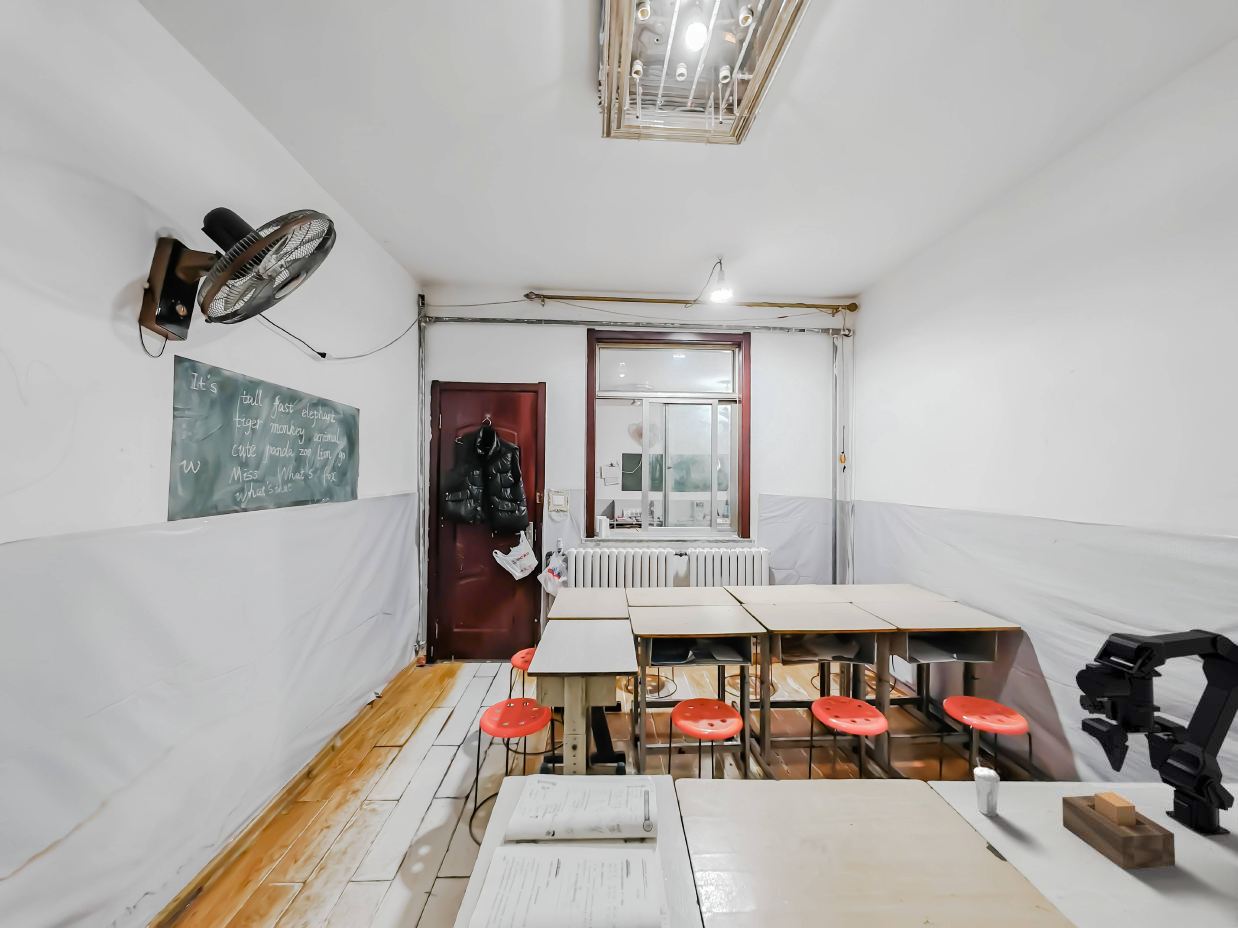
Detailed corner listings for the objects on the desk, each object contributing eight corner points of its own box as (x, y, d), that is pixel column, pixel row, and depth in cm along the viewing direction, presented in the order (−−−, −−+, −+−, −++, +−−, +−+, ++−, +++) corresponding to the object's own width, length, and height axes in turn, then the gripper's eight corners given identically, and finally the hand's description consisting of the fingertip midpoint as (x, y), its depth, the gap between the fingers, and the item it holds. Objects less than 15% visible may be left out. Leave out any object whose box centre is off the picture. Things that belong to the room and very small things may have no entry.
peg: (1113, 831, 96) (1112, 791, 96) (1136, 846, 92) (1135, 805, 92) (1095, 832, 96) (1094, 792, 96) (1117, 847, 92) (1116, 806, 92)
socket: (1110, 822, 100) (1109, 794, 100) (1175, 865, 89) (1174, 833, 89) (1063, 825, 99) (1062, 796, 99) (1122, 868, 88) (1121, 836, 88)
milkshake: (988, 802, 106) (987, 758, 106) (1005, 819, 101) (1004, 772, 101) (967, 801, 106) (966, 756, 107) (983, 817, 101) (982, 771, 101)
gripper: (1129, 678, 108) (1131, 746, 108) (1055, 680, 107) (1057, 749, 106) (1191, 701, 97) (1194, 777, 97) (1109, 704, 96) (1112, 781, 95)
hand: (1135, 769), depth 99 cm, fingers open, 9 cm apart
